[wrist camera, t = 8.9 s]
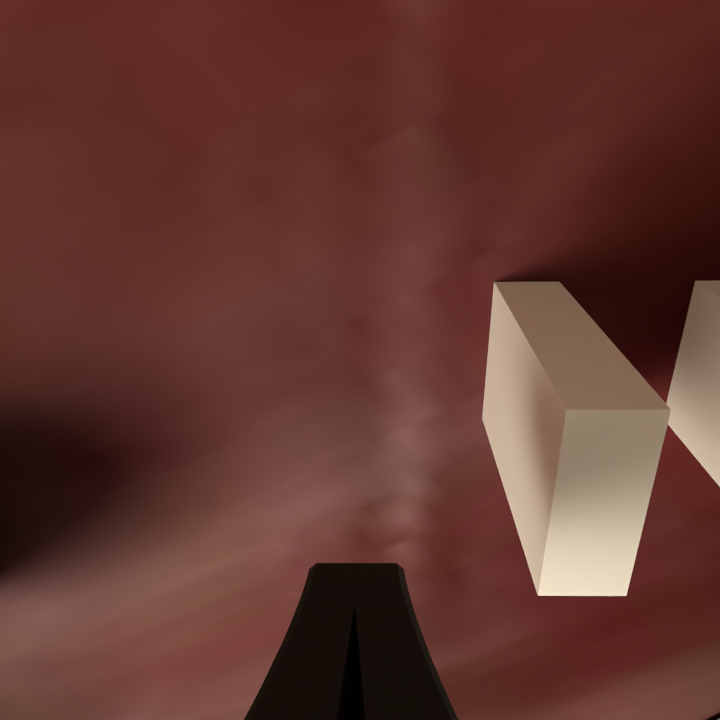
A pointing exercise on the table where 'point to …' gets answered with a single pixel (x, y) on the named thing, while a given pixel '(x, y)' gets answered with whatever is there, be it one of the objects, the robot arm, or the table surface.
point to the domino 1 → (569, 439)
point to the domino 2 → (699, 379)
